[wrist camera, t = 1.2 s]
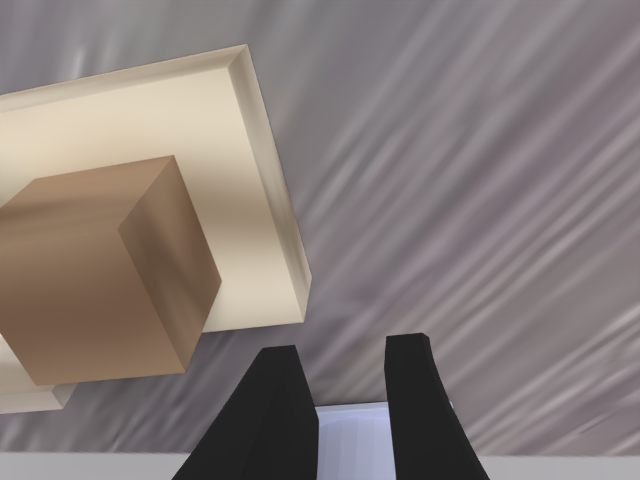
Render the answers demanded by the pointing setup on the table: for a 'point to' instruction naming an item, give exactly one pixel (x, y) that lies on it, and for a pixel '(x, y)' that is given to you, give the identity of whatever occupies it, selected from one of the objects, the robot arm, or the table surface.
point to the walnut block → (104, 274)
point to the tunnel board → (196, 169)
